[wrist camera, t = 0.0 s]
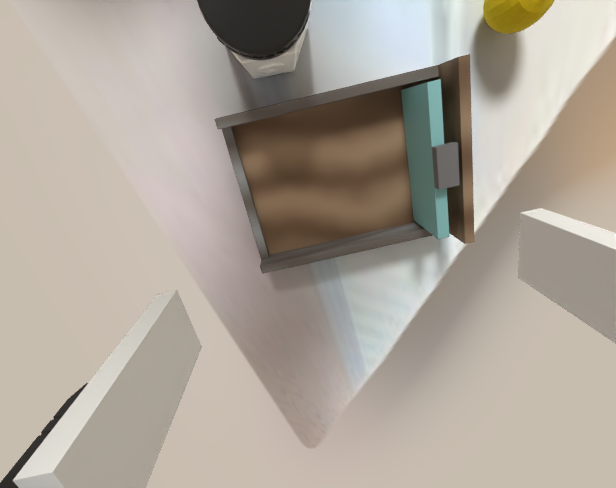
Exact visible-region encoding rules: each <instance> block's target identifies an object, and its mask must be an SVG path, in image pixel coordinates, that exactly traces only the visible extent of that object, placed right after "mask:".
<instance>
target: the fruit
mask: <svg viewBox="0 0 616 488" xmlns="http://www.w3.org/2000/svg"><path fill="white" fill-rule="evenodd" d="M553 2H554V0H485V1H484V7H483V9H484V18H485V21H486V22H487V24H488V25H489V26H490V27H491V28H492V29H493V30H495V31H497V32H499V33H510V34H511V33H516V32H519V31H522V30H524V29H526V28H528V27H529V26H531V25H532V24H534V23H535V22H537V21H538V20H539V19H540V18H541V17H542V16H543V15H544V14H545V13H546V12H547V10H548V9H549V8H550V7H551V6H552V4H553Z"/></svg>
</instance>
